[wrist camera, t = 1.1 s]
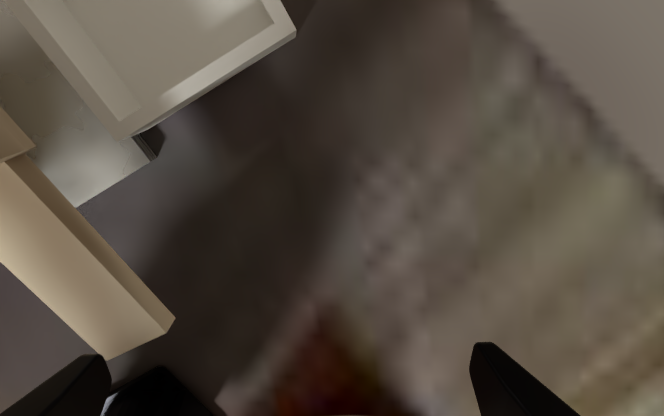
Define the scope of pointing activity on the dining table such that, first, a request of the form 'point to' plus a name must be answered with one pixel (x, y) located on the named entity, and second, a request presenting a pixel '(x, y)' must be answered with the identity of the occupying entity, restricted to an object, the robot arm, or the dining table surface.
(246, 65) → the tray
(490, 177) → the dining table surface
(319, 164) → the dining table surface
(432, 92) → the dining table surface
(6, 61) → the lever stand
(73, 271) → the lever
